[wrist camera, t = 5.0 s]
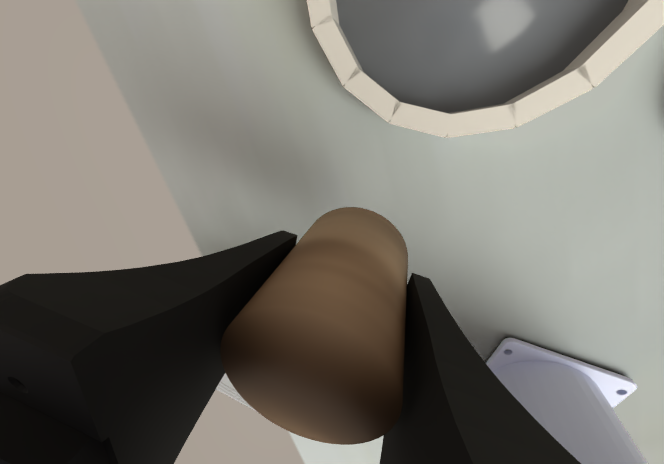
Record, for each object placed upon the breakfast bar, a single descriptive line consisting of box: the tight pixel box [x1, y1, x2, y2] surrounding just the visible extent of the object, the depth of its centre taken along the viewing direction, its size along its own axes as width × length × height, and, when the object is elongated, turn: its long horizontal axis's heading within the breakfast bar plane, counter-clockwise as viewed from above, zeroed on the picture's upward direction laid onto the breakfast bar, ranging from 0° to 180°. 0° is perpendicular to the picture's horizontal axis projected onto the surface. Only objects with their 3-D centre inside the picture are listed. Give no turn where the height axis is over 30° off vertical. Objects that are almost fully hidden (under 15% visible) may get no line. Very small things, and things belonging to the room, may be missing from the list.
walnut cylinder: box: [220, 207, 408, 444], centre depth 9 cm, size 4×4×6 cm
